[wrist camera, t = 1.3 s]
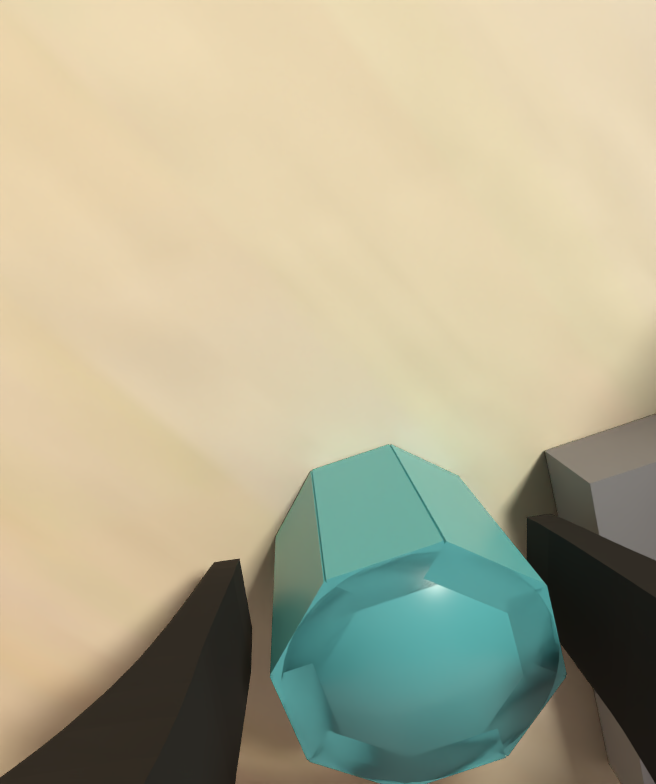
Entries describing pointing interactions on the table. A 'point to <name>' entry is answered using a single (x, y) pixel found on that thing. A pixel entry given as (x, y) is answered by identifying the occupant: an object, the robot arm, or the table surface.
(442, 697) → the cap
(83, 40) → the table surface
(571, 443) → the stud stand
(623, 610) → the robot arm
